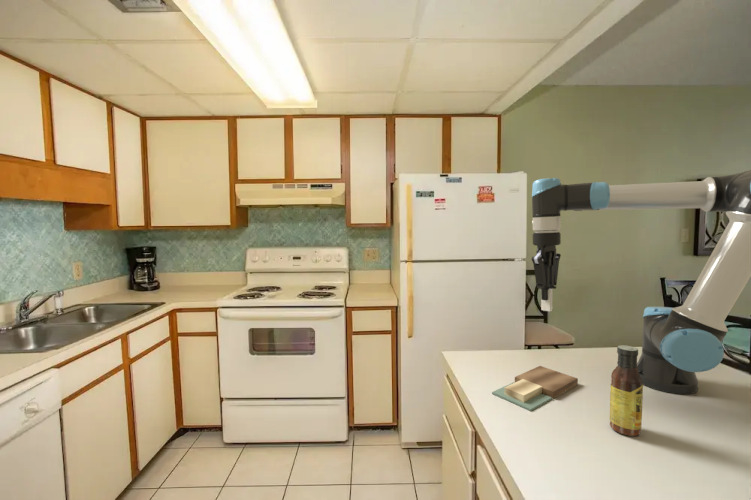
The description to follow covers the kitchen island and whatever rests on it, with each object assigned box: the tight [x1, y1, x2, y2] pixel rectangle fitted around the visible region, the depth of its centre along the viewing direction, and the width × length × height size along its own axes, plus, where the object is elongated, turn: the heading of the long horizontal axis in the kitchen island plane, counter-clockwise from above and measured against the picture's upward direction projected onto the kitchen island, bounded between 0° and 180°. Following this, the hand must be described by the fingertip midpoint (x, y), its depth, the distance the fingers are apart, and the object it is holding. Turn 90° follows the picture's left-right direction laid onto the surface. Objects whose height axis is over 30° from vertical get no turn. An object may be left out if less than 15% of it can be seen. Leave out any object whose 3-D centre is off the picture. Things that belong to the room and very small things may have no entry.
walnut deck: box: [514, 365, 579, 400], centre depth 110 cm, size 12×14×2 cm
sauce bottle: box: [609, 345, 644, 437], centre depth 85 cm, size 7×6×20 cm
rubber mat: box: [491, 381, 553, 412], centre depth 103 cm, size 12×10×1 cm
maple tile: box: [505, 379, 542, 403], centre depth 103 cm, size 6×9×2 cm, turn 125°
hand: (546, 310), depth 109 cm, fingers closed
